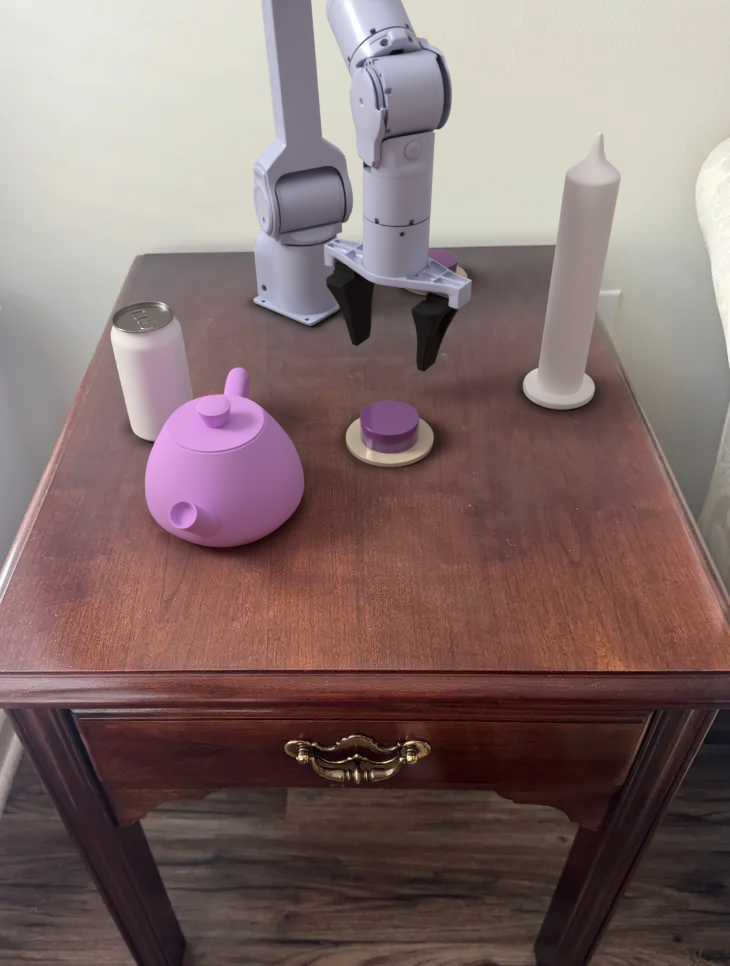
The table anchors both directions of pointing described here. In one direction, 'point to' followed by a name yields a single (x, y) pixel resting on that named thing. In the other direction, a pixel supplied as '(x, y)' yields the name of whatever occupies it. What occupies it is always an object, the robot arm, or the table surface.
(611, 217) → the candle
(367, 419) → the purple puck
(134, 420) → the can
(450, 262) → the purple round puck
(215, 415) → the teapot
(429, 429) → the coaster near
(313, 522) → the table surface
